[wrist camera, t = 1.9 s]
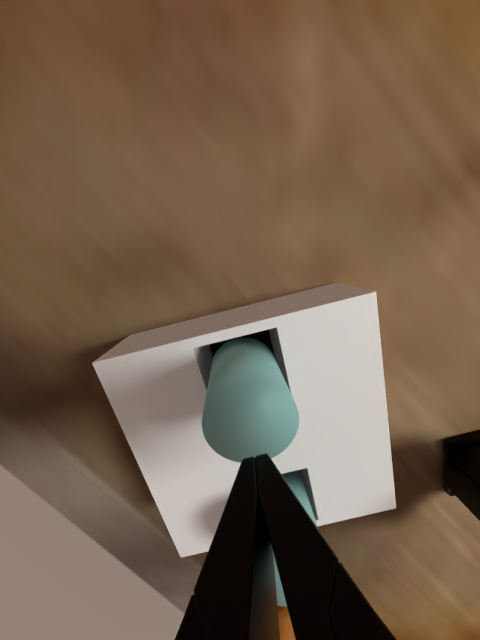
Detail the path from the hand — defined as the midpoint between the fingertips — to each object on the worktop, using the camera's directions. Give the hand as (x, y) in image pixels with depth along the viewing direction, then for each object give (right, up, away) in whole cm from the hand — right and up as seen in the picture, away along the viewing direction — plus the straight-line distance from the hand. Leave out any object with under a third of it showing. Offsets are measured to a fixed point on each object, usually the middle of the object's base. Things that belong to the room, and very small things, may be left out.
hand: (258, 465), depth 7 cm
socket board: (+1, -2, +12) cm, 12 cm away
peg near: (0, +2, +7) cm, 7 cm away
